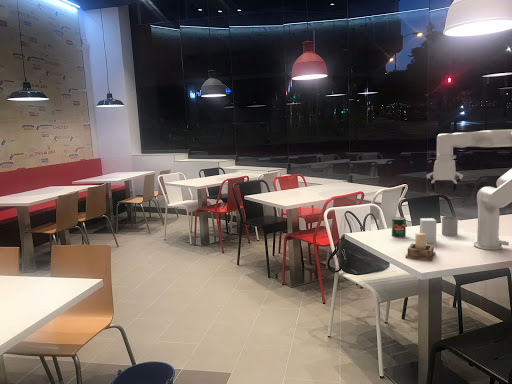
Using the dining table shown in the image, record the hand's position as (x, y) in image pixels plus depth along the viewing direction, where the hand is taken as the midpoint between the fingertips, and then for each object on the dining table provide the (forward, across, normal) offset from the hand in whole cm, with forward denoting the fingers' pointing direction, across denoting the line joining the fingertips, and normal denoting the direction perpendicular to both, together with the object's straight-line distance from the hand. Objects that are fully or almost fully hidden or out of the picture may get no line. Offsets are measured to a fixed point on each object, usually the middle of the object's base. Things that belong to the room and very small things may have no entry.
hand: (444, 191), depth 204 cm
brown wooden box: (+30, +8, +19) cm, 37 cm away
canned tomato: (+31, +26, -16) cm, 43 cm away
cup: (+31, 0, -30) cm, 43 cm away
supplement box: (+31, +9, -10) cm, 33 cm away
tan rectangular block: (+29, +8, +19) cm, 36 cm away
